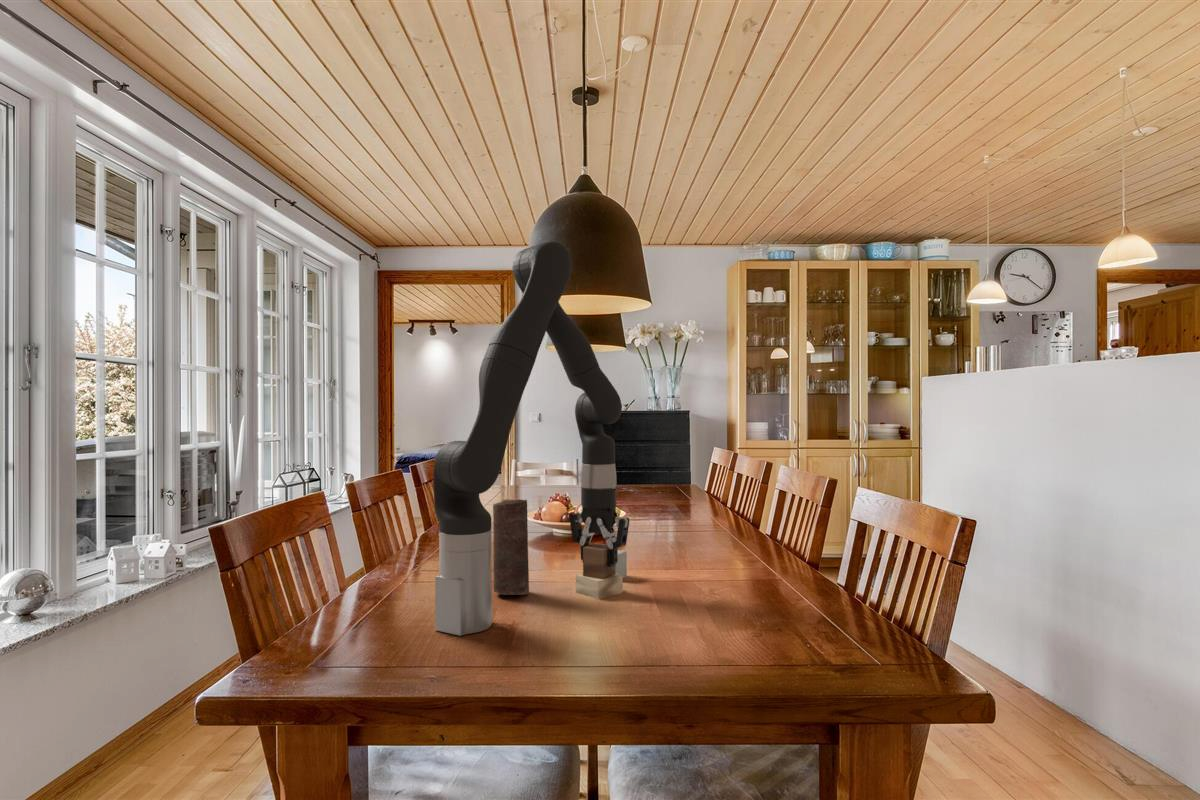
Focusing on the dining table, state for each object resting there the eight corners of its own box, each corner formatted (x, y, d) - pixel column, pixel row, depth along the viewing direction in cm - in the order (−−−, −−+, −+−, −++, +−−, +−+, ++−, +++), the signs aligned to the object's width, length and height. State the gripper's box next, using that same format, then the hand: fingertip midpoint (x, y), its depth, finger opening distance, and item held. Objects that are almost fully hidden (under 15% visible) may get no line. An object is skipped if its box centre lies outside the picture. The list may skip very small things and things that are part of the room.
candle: (510, 602, 134) (510, 503, 134) (485, 596, 139) (485, 500, 139) (536, 593, 140) (535, 498, 140) (511, 588, 145) (511, 496, 145)
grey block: (615, 581, 150) (615, 555, 150) (597, 579, 152) (596, 552, 152) (626, 577, 154) (626, 551, 154) (608, 574, 157) (608, 548, 157)
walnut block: (603, 579, 137) (603, 550, 137) (583, 575, 140) (583, 547, 140) (615, 573, 142) (615, 545, 142) (595, 570, 144) (595, 542, 144)
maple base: (598, 600, 136) (597, 581, 136) (575, 593, 141) (575, 574, 141) (622, 594, 141) (622, 575, 141) (600, 587, 146) (600, 569, 146)
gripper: (560, 484, 142) (561, 564, 141) (619, 488, 134) (619, 572, 134) (580, 481, 148) (580, 557, 148) (636, 485, 141) (637, 565, 140)
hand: (599, 564), depth 141 cm, fingers open, 5 cm apart
